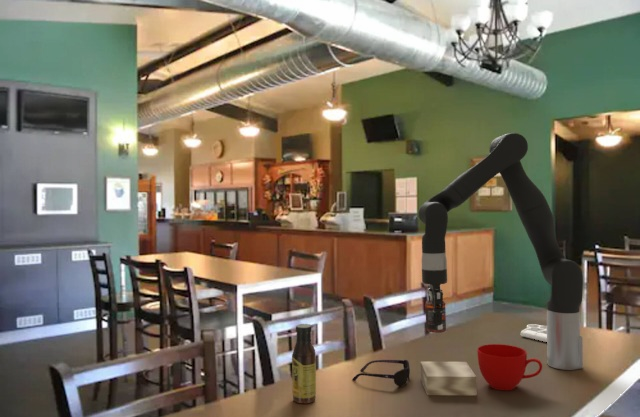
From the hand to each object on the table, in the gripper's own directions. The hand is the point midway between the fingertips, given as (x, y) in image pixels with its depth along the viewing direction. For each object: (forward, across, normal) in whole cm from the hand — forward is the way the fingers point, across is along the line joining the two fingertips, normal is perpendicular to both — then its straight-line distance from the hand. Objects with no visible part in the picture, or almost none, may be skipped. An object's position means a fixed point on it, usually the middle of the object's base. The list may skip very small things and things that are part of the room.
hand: (435, 322), depth 159 cm
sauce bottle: (+14, -25, +38) cm, 48 cm away
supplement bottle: (+3, 0, 0) cm, 3 cm away
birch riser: (+15, -14, 0) cm, 20 cm away
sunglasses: (+15, -8, +17) cm, 24 cm away
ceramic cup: (+15, -14, -17) cm, 27 cm away
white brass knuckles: (+16, +39, -47) cm, 63 cm away
